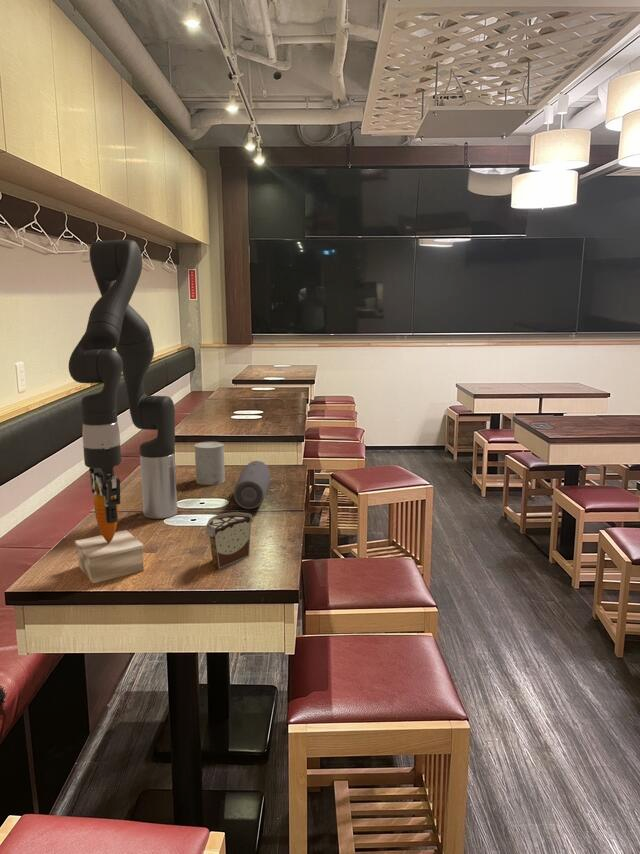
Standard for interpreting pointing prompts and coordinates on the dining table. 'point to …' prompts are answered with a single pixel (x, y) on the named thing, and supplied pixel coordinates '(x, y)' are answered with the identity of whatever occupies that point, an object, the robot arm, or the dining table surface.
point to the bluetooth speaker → (252, 485)
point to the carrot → (104, 517)
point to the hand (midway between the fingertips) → (107, 517)
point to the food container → (229, 537)
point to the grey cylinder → (209, 463)
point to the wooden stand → (110, 556)
